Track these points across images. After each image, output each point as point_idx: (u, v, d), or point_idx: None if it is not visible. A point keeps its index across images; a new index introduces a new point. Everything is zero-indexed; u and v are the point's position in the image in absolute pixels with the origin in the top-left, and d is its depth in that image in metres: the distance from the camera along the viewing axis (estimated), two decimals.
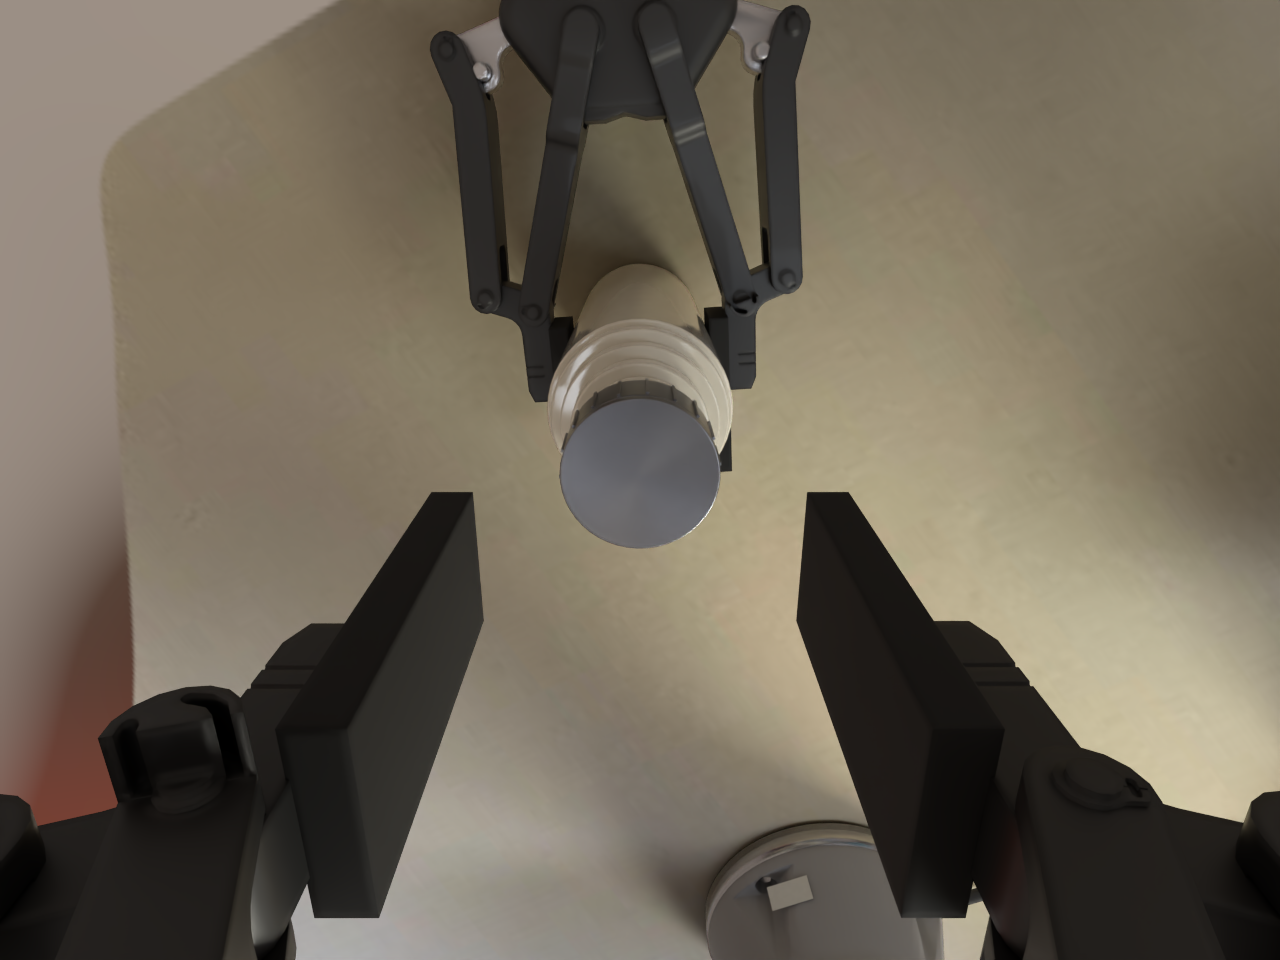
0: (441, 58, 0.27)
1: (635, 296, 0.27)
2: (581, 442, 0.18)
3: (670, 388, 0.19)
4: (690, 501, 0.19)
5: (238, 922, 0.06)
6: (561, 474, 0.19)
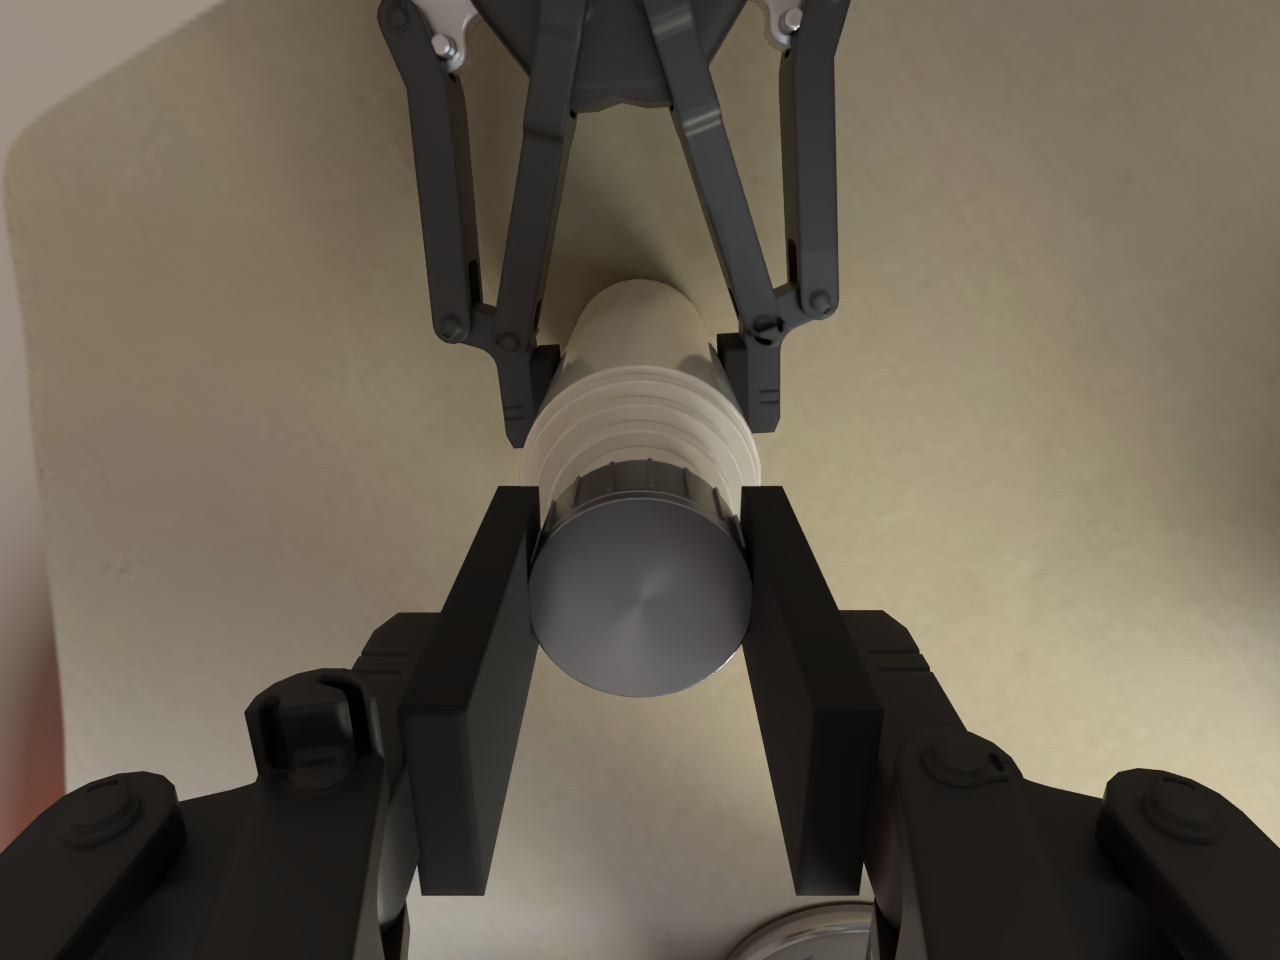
0: (391, 28, 0.22)
1: (634, 327, 0.21)
2: (556, 557, 0.13)
3: (682, 473, 0.14)
4: (711, 636, 0.13)
5: (368, 902, 0.07)
6: (528, 600, 0.13)
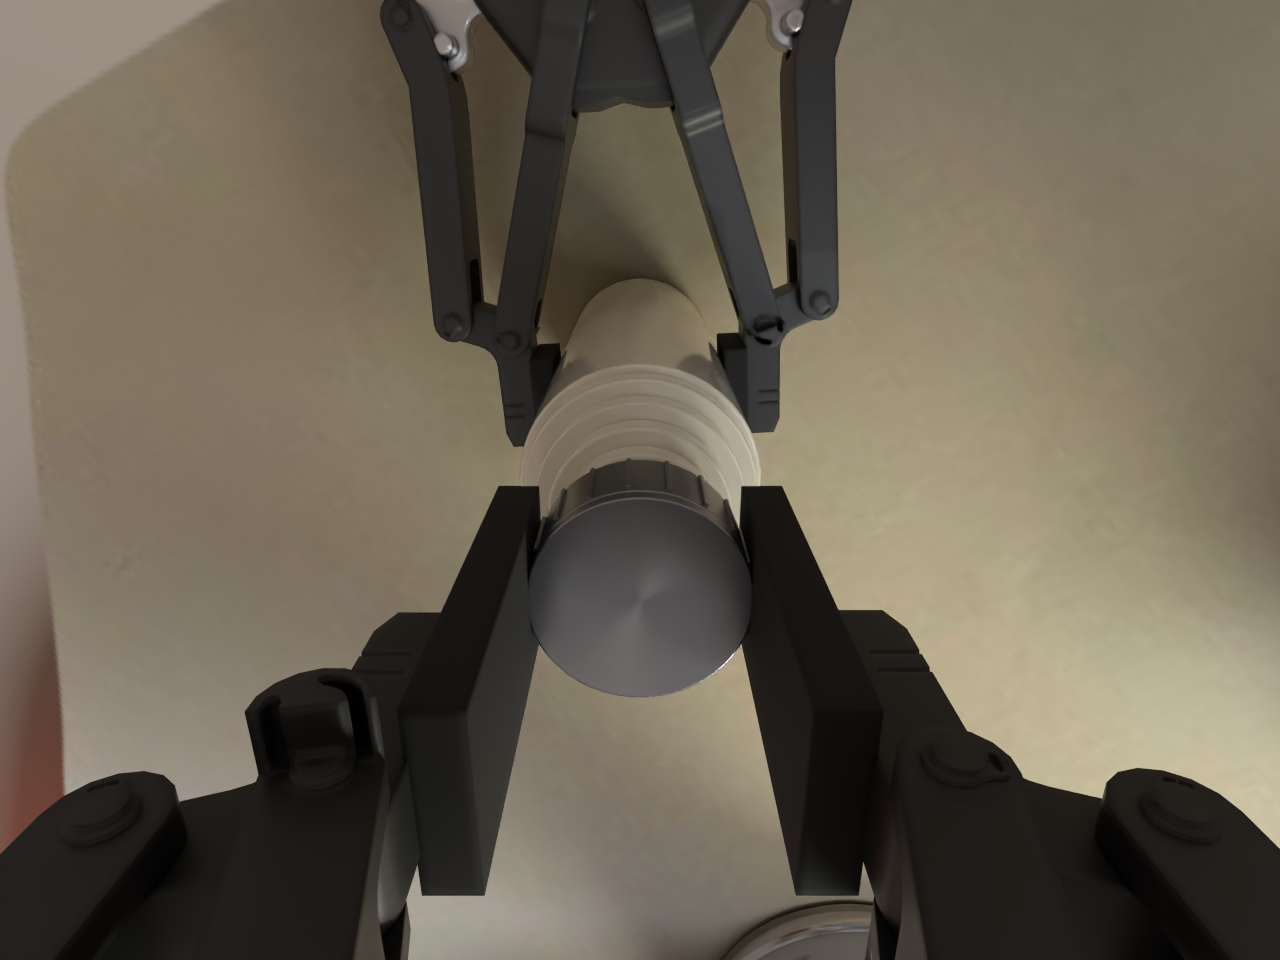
0: (394, 27, 0.22)
1: (634, 326, 0.21)
2: (622, 682, 0.14)
3: None
4: (650, 529, 0.13)
5: (369, 902, 0.07)
6: (675, 690, 0.14)
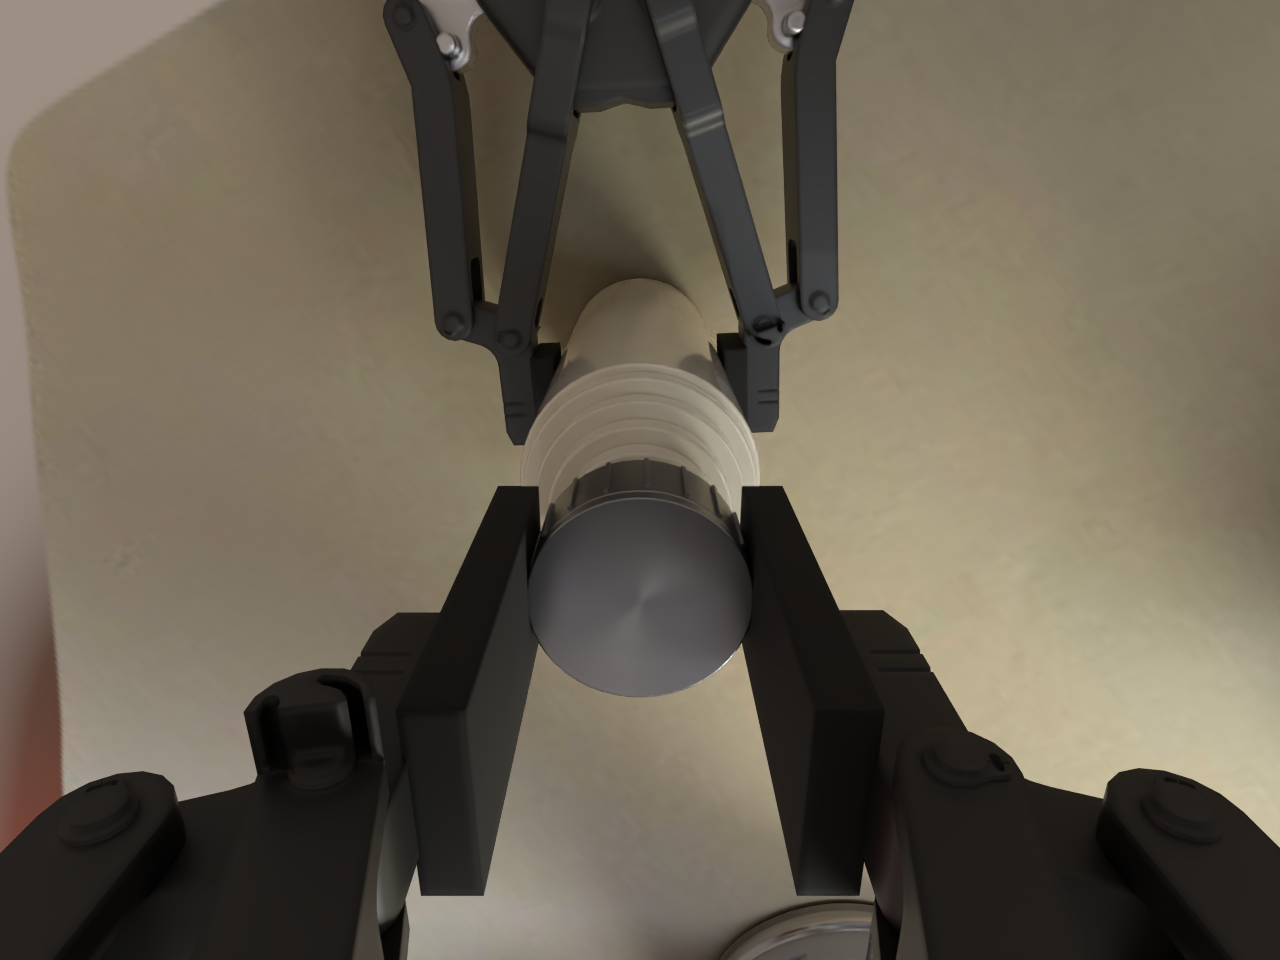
0: (397, 27, 0.22)
1: (635, 326, 0.22)
2: (736, 588, 0.13)
3: None
4: (561, 620, 0.13)
5: (367, 902, 0.07)
6: (728, 537, 0.13)
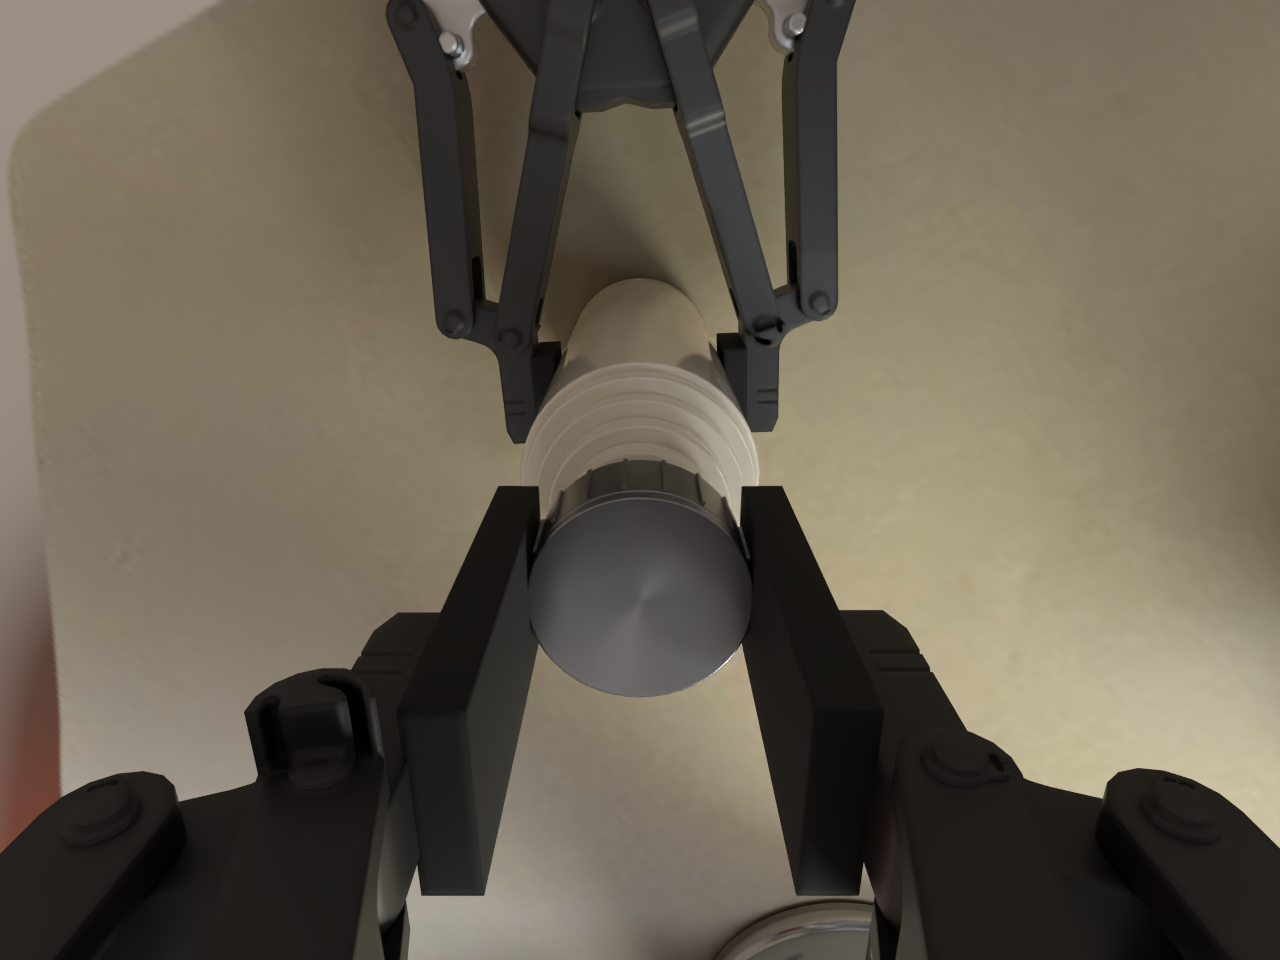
0: (399, 26, 0.22)
1: (636, 325, 0.22)
2: (589, 527, 0.13)
3: (722, 501, 0.14)
4: (685, 660, 0.13)
5: (368, 902, 0.07)
6: (539, 554, 0.13)
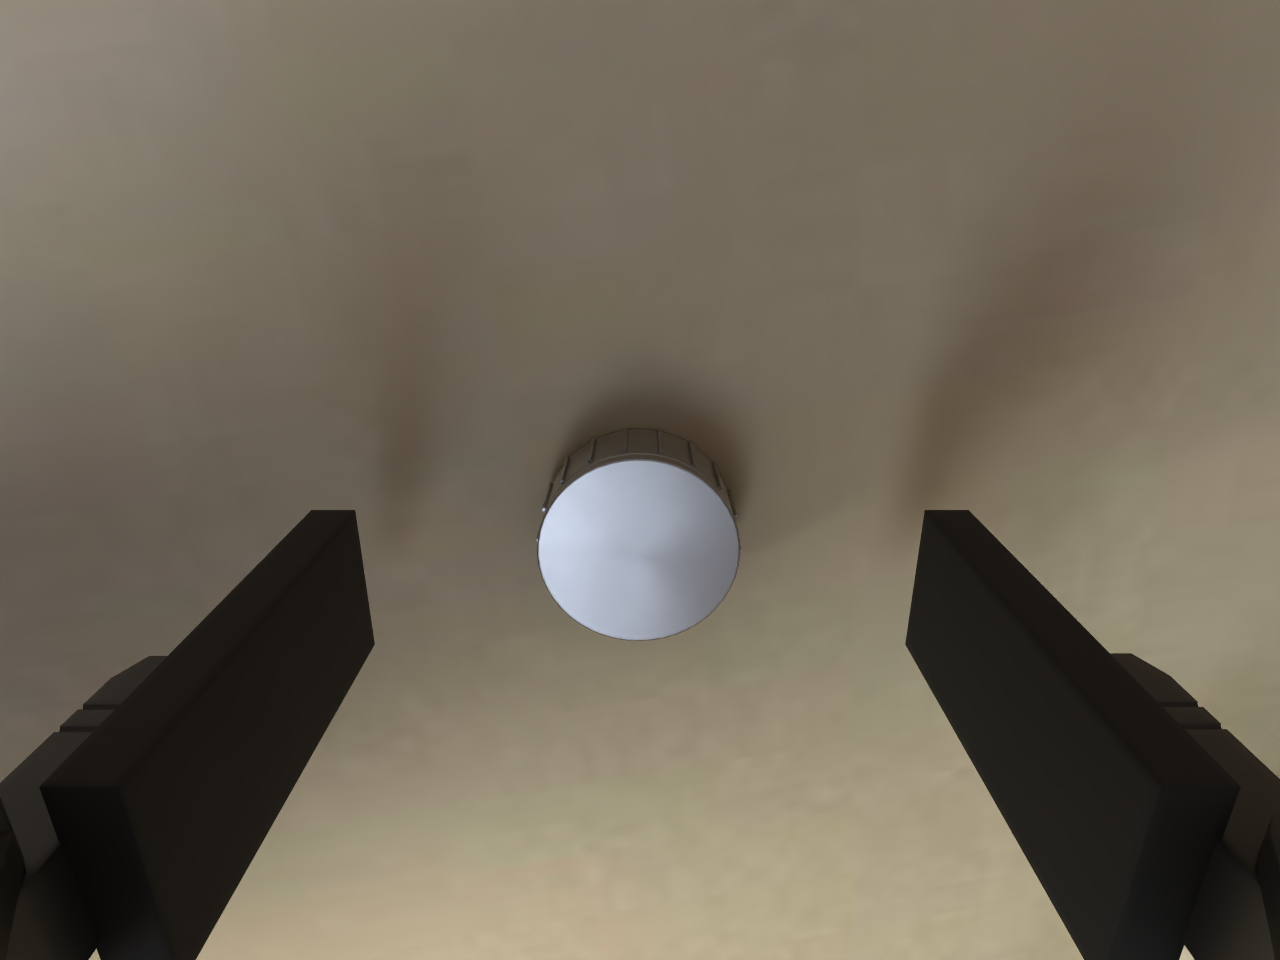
0: None
1: None
2: (593, 485, 0.14)
3: (712, 466, 0.16)
4: (679, 606, 0.15)
5: None
6: (549, 510, 0.14)
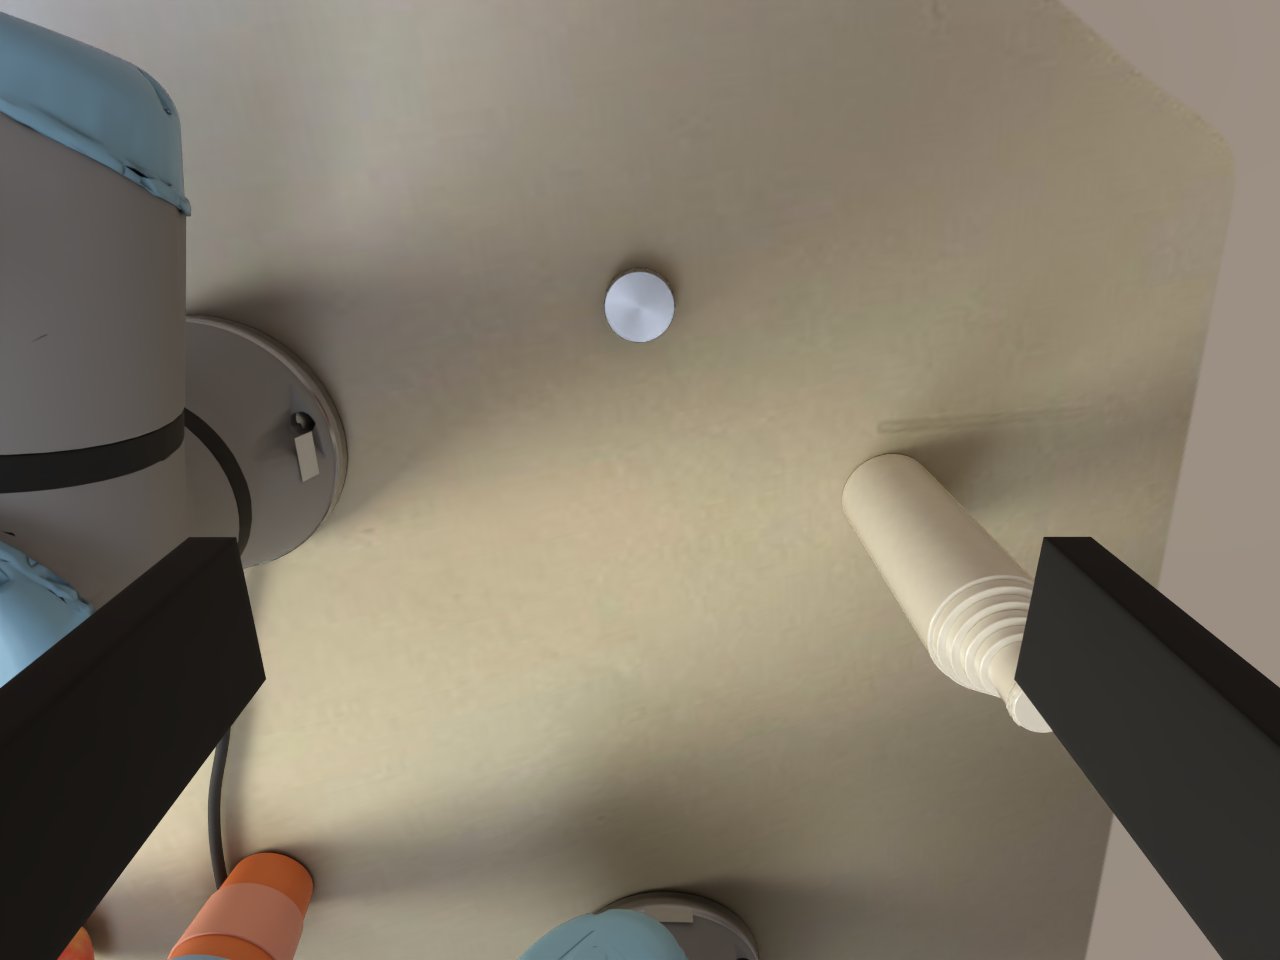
0: None
1: None
2: (624, 281, 0.42)
3: (666, 281, 0.43)
4: (653, 328, 0.43)
5: None
6: (609, 290, 0.42)
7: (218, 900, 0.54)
